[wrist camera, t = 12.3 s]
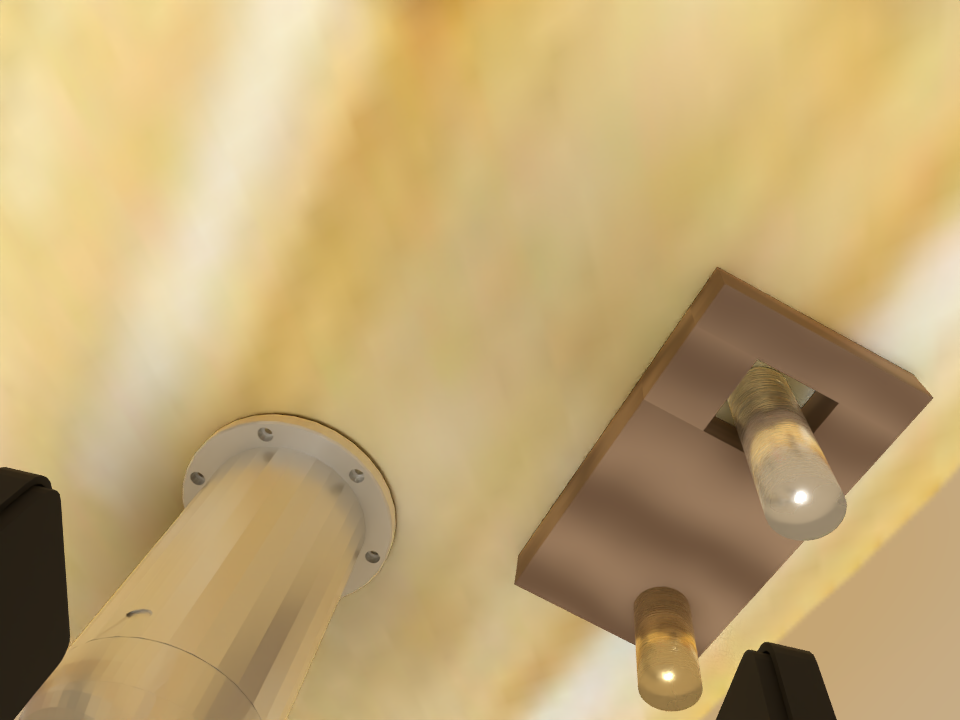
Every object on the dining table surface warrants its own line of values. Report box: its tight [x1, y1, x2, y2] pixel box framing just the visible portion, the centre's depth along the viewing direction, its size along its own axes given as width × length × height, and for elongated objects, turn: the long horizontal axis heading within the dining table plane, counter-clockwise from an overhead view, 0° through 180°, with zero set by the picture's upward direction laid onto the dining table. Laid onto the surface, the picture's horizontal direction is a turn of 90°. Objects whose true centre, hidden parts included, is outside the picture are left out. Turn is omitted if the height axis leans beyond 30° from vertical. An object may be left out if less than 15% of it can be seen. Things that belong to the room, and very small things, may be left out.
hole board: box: [514, 267, 933, 658], centre depth 40 cm, size 20×11×2 cm, turn 153°
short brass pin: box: [634, 587, 702, 711], centre depth 40 cm, size 3×3×6 cm
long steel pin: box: [727, 367, 847, 541], centre depth 35 cm, size 3×3×10 cm
